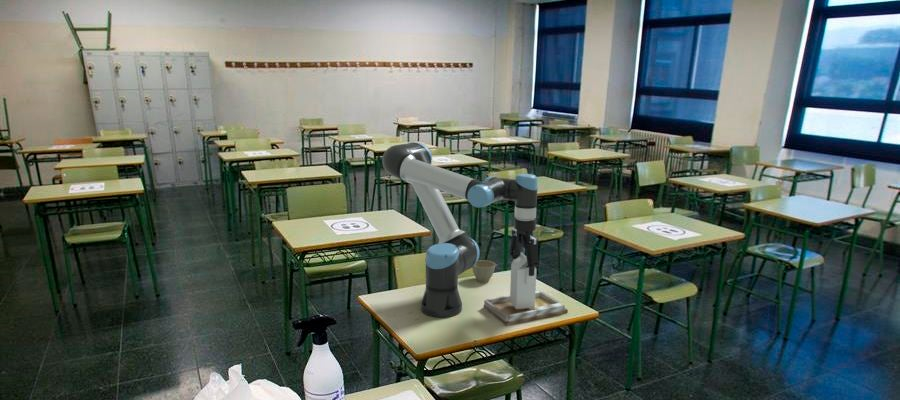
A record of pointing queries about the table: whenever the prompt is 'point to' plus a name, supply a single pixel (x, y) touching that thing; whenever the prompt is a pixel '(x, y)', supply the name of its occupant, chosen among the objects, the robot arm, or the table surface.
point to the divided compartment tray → (511, 315)
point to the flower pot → (483, 270)
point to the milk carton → (521, 285)
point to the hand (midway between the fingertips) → (522, 279)
